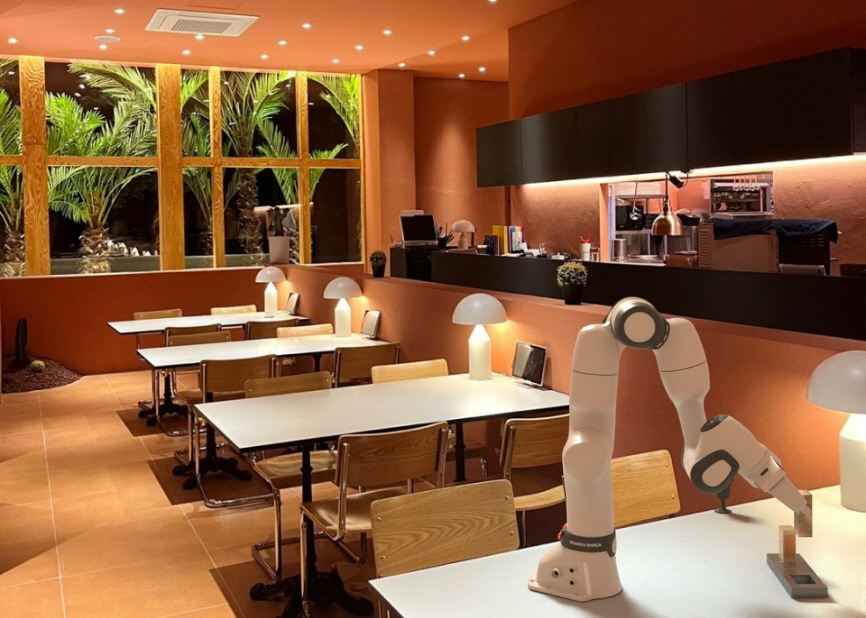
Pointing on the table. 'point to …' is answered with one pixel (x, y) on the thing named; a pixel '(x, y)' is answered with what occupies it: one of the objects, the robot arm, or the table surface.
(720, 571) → the table surface
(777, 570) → the gray block holder
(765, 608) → the table surface
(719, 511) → the sundae
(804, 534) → the wooden block
